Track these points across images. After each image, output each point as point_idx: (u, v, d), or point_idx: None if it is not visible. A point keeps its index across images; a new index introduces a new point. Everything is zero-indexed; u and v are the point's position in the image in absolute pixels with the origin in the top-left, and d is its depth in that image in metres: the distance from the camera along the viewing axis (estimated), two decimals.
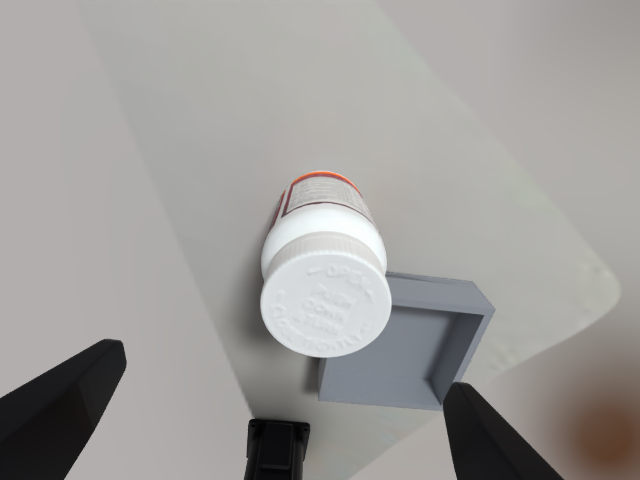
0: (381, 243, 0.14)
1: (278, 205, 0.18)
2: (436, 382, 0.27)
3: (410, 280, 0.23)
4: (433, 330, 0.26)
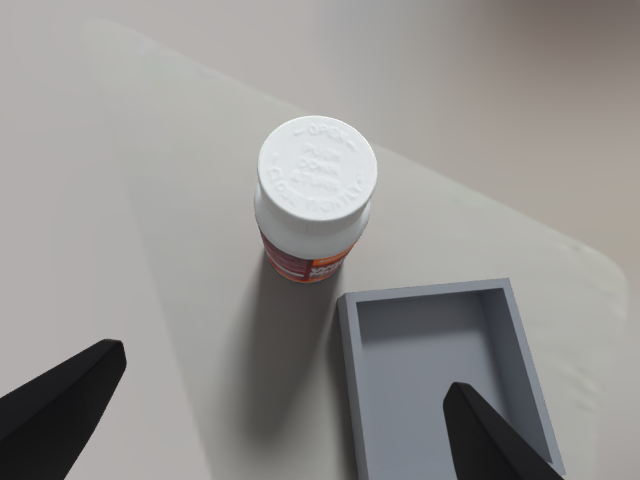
0: None
1: None
2: (525, 437, 0.19)
3: None
4: (474, 354, 0.21)
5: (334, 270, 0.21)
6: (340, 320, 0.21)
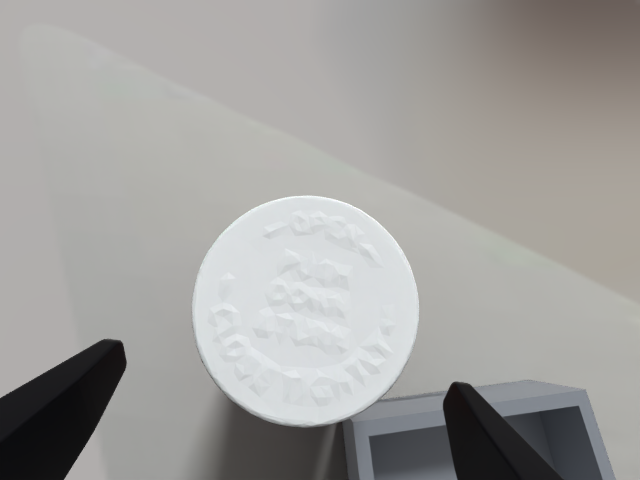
0: None
1: None
2: None
3: None
4: None
5: None
6: (345, 439, 0.15)
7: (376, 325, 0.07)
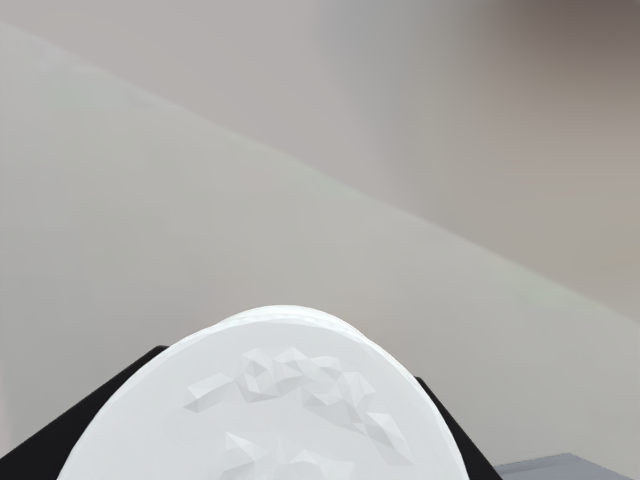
0: None
1: None
2: None
3: None
4: None
5: None
6: None
7: None
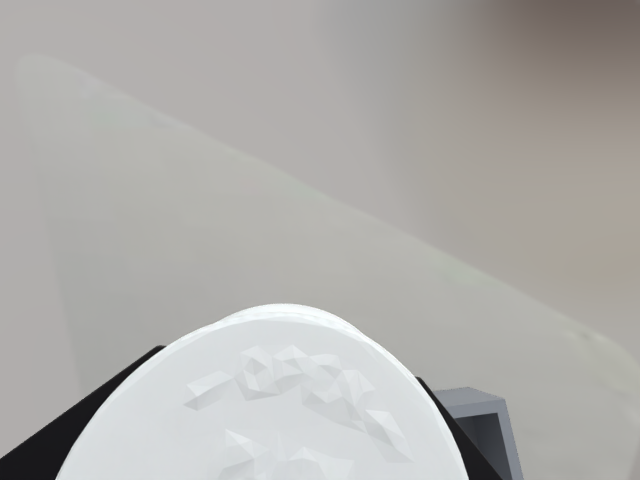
0: None
1: None
2: None
3: None
4: None
5: None
6: None
7: None
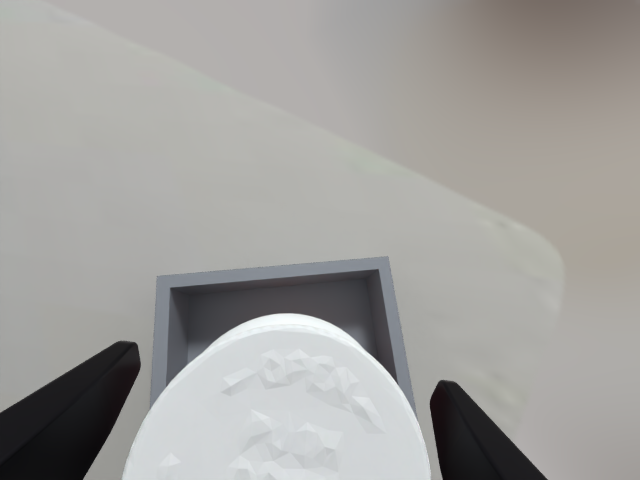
0: None
1: None
2: None
3: None
4: None
5: None
6: None
7: None
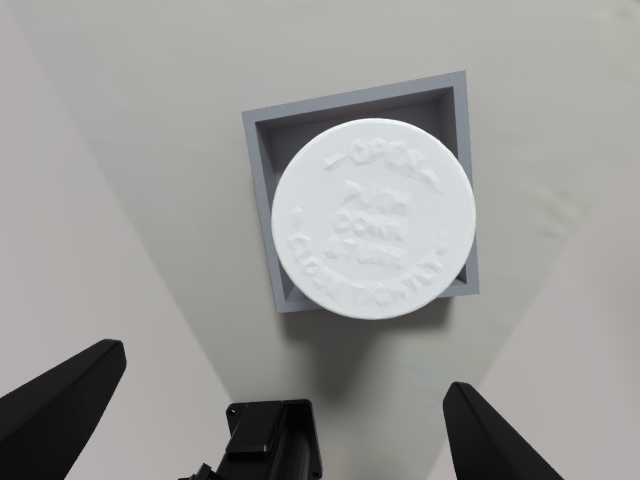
0: None
1: None
2: None
3: None
4: None
5: None
6: None
7: (431, 247, 0.07)
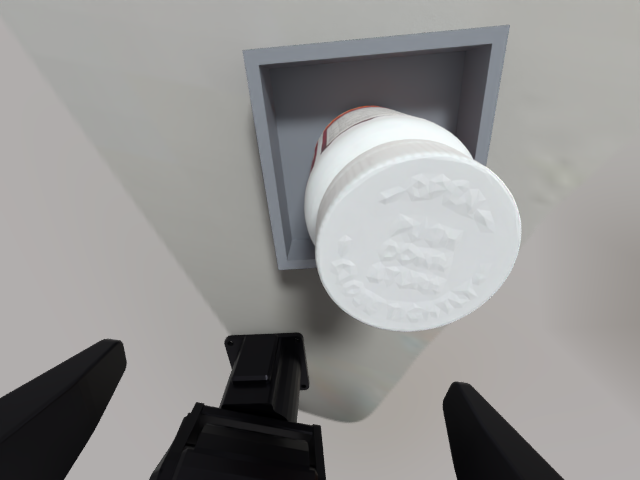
0: (471, 157, 0.09)
1: (313, 157, 0.15)
2: None
3: None
4: None
5: None
6: None
7: (470, 278, 0.08)
